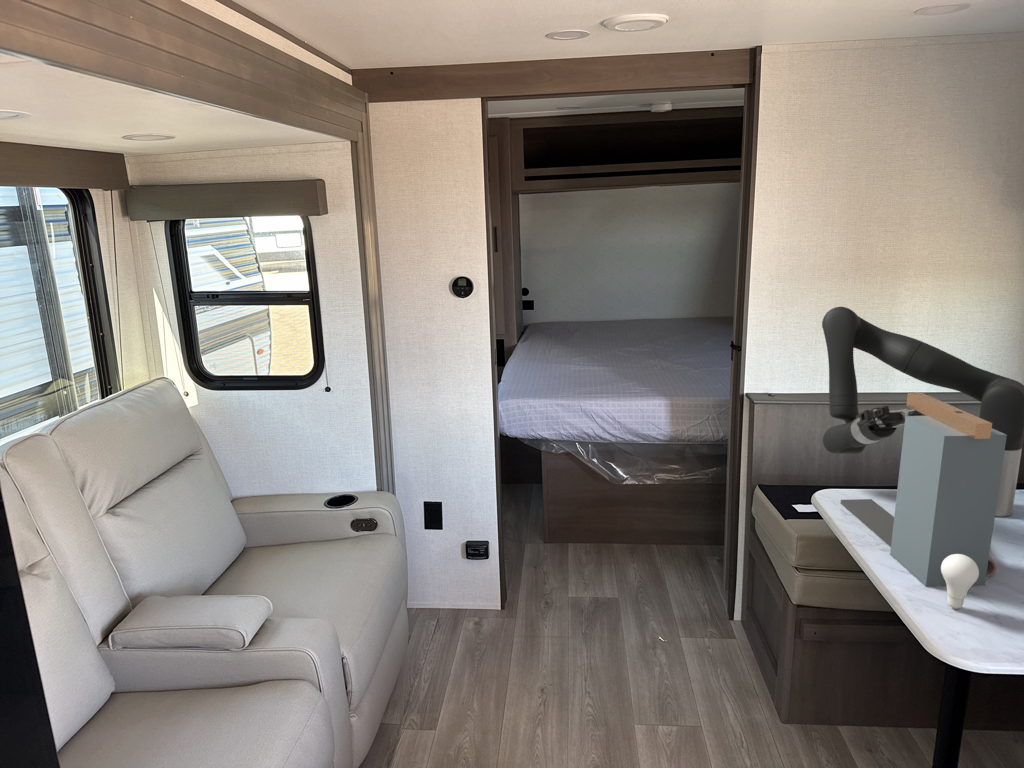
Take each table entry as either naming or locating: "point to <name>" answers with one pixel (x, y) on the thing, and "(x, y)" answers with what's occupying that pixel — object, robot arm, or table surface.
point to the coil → (991, 567)
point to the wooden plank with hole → (950, 415)
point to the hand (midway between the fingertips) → (906, 409)
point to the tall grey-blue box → (945, 498)
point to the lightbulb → (958, 577)
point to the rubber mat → (872, 517)
